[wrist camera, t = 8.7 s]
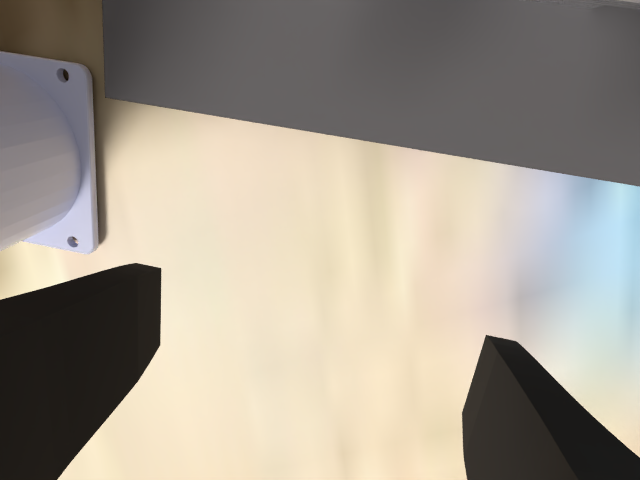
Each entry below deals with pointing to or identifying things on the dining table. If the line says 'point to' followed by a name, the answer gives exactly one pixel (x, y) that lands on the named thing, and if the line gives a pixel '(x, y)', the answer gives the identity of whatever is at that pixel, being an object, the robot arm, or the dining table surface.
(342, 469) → the dining table surface
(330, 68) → the dark grey backing panel
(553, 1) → the grey metal plate
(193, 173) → the dining table surface
